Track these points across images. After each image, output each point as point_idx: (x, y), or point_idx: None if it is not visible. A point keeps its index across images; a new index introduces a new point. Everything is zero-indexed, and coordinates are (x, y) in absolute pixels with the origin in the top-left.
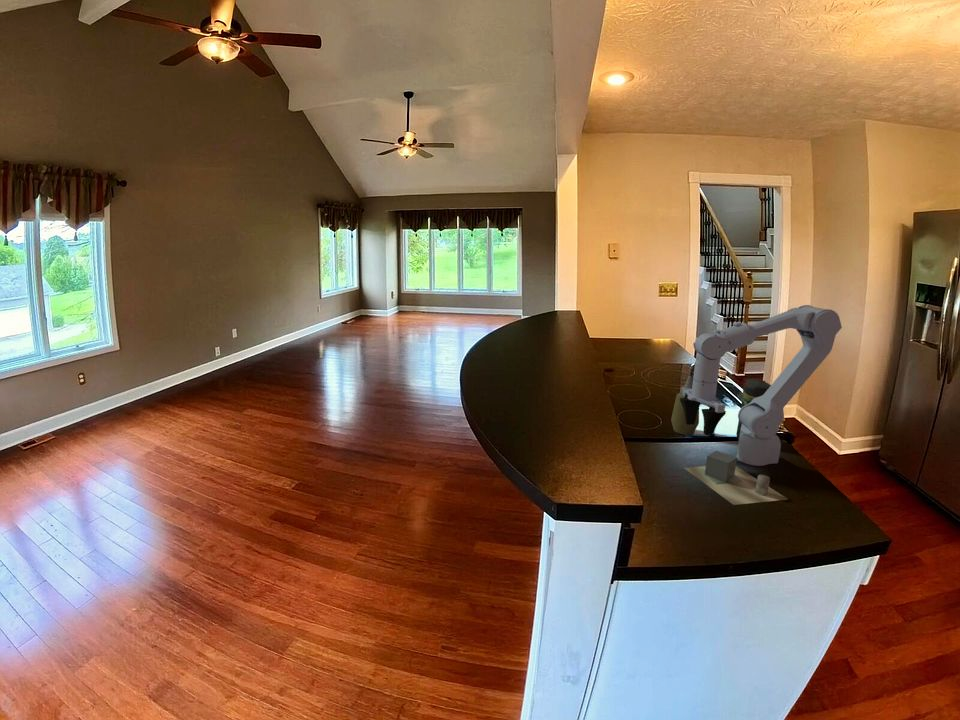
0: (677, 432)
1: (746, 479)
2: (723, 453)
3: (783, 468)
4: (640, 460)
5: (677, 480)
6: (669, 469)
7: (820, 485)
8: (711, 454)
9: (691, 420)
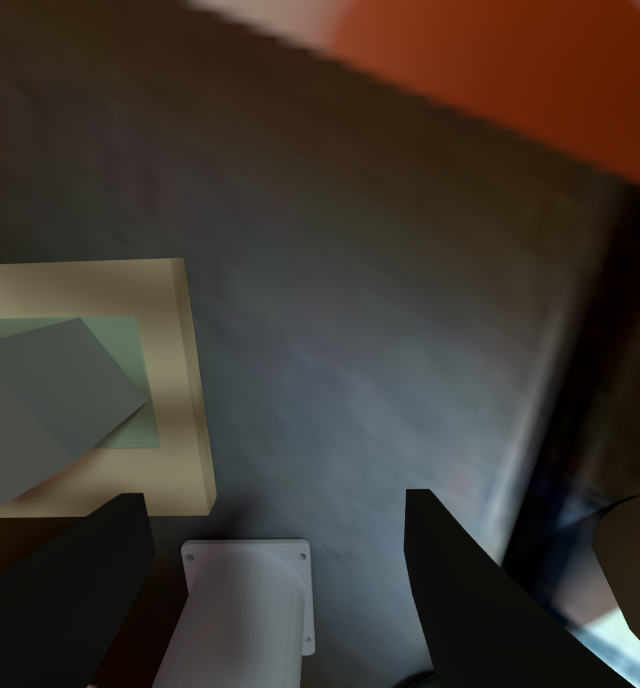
0: (638, 498)
1: (56, 477)
2: (31, 478)
3: None
4: (361, 79)
5: (105, 176)
6: (231, 204)
7: None
8: (1, 392)
9: (417, 560)
